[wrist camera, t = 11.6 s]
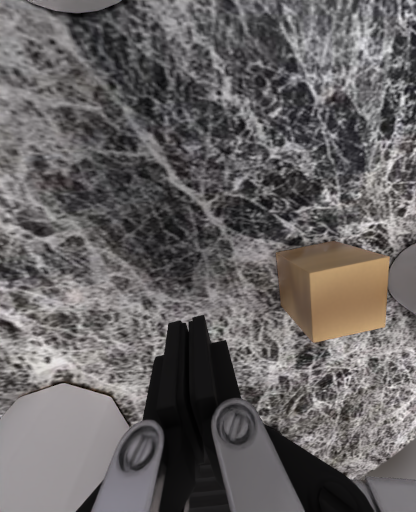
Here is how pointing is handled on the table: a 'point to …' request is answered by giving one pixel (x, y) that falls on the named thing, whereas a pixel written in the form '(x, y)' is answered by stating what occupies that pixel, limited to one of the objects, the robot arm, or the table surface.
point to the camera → (209, 492)
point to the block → (333, 289)
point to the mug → (404, 278)
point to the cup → (56, 448)
